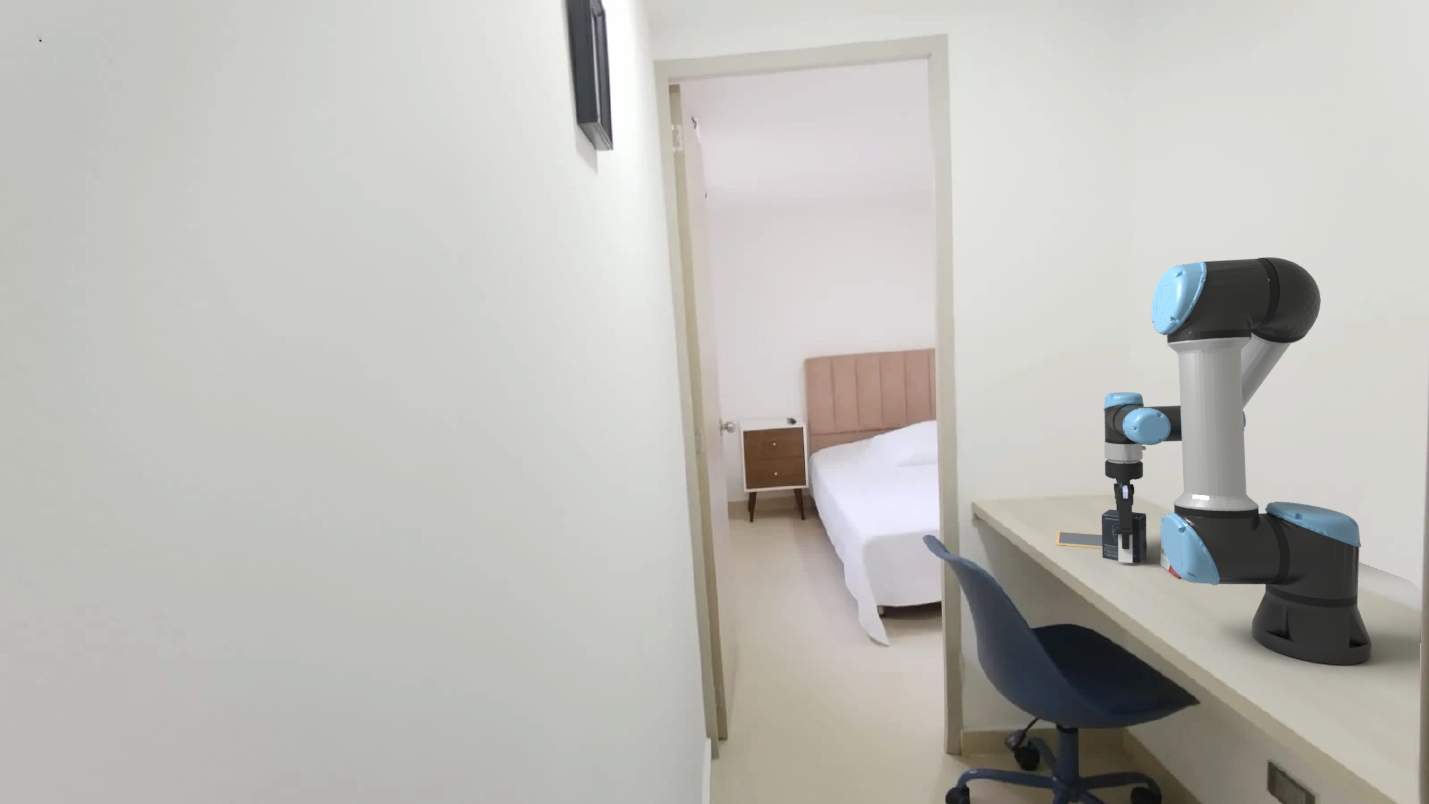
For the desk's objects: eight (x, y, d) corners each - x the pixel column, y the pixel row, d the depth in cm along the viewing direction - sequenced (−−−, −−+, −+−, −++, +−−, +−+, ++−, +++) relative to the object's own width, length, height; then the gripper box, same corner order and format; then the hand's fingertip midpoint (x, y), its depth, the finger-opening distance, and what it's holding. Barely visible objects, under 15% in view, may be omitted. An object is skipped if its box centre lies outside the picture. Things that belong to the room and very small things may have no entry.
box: (1147, 557, 160) (1146, 513, 159) (1139, 564, 157) (1139, 518, 155) (1109, 551, 166) (1109, 508, 165) (1101, 558, 162) (1101, 513, 161)
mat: (1106, 549, 168) (1106, 547, 168) (1055, 545, 173) (1055, 543, 173) (1105, 535, 177) (1105, 534, 177) (1057, 532, 183) (1057, 531, 183)
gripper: (1146, 471, 147) (1147, 572, 150) (1139, 451, 167) (1139, 541, 169) (1106, 469, 151) (1106, 568, 153) (1103, 450, 171) (1104, 538, 173)
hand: (1124, 554), depth 161 cm, fingers open, 10 cm apart
